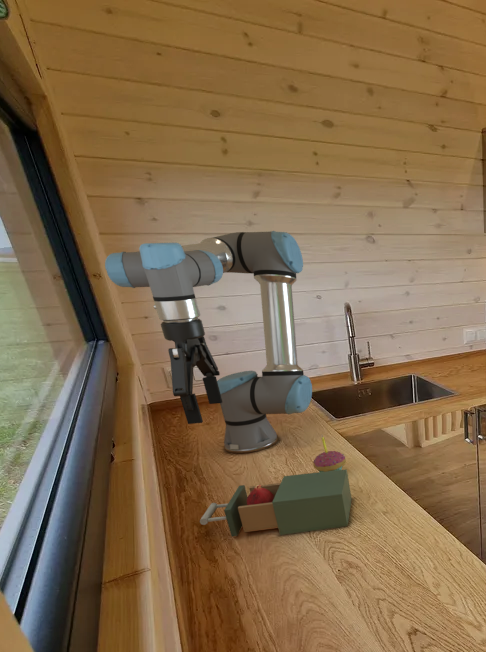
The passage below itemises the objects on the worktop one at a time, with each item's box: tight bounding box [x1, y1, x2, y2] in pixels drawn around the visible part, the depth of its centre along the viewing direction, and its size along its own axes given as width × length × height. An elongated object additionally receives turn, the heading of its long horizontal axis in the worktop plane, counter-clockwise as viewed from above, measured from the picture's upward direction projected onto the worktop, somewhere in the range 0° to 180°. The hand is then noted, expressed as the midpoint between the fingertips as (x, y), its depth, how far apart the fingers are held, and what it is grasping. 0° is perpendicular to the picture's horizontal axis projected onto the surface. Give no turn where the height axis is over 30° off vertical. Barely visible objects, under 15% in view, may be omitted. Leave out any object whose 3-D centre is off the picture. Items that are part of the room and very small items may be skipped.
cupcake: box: [313, 435, 347, 472], centre depth 133 cm, size 9×8×12 cm
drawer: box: [199, 482, 281, 538], centre depth 112 cm, size 20×11×7 cm, turn 103°
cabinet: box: [272, 469, 353, 536], centre depth 115 cm, size 15×13×9 cm
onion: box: [247, 484, 274, 505], centre depth 112 cm, size 6×6×8 cm
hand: (206, 412), depth 113 cm, fingers open, 13 cm apart
